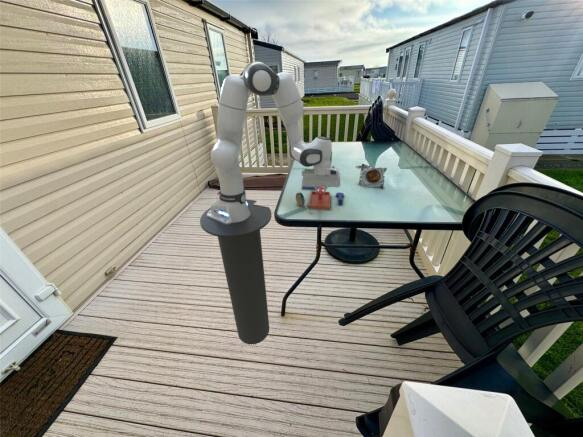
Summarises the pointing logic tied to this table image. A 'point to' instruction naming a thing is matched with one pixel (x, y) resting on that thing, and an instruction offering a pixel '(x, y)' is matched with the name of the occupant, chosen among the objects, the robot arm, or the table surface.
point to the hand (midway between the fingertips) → (320, 193)
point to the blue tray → (309, 187)
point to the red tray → (319, 201)
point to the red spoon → (320, 192)
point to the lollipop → (300, 199)
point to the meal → (372, 176)
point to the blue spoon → (340, 197)
